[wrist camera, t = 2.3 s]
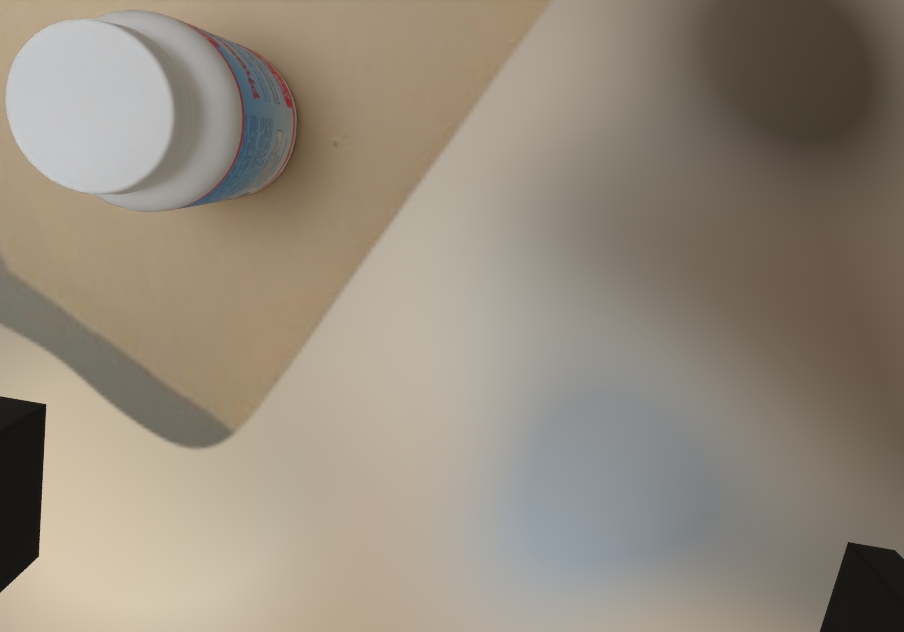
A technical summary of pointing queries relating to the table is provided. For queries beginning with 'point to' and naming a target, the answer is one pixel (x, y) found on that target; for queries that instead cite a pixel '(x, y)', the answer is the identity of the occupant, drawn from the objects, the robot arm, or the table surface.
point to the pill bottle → (149, 111)
